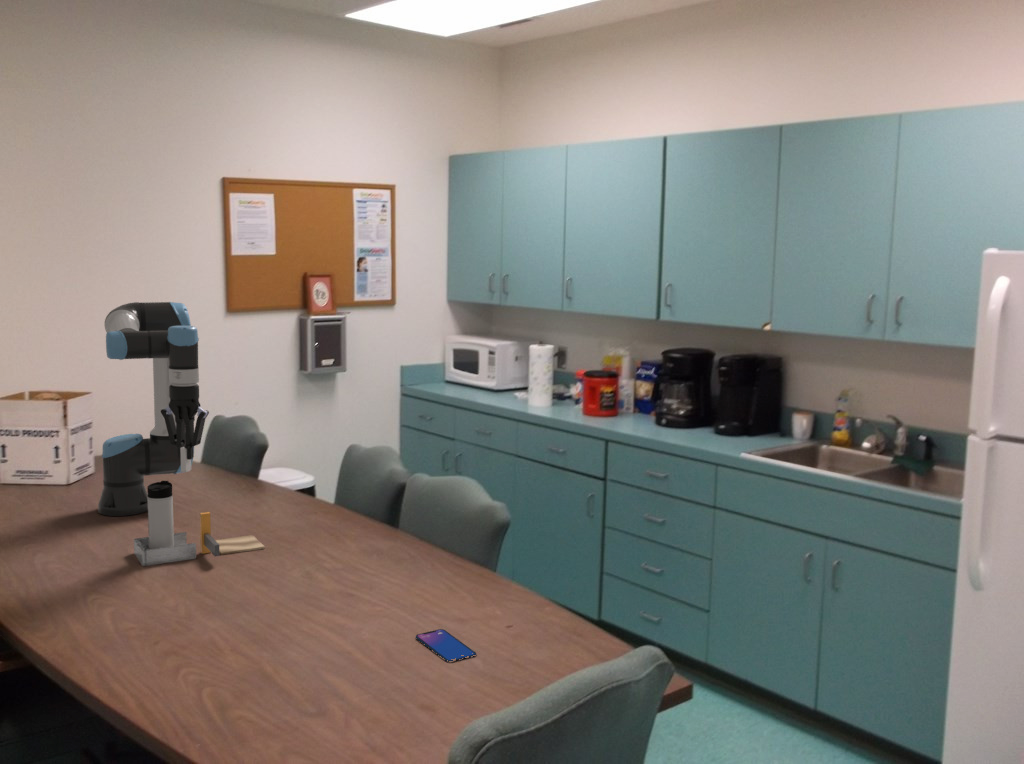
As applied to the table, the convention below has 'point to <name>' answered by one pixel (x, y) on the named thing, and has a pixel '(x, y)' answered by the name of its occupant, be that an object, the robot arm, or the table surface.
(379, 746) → the table surface
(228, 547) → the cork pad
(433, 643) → the smartphone
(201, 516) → the bar
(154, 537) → the travel mug
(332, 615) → the table surface
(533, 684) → the table surface
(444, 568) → the table surface
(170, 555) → the holder
